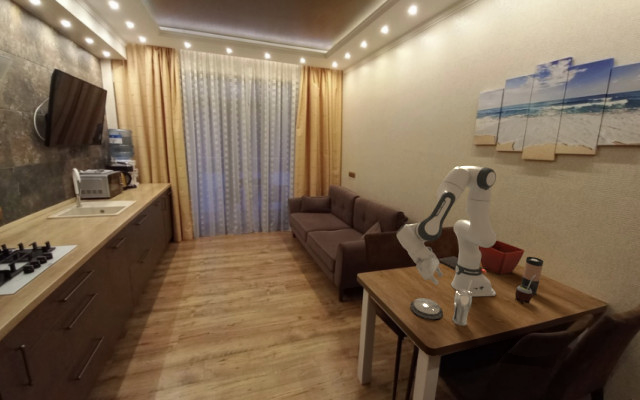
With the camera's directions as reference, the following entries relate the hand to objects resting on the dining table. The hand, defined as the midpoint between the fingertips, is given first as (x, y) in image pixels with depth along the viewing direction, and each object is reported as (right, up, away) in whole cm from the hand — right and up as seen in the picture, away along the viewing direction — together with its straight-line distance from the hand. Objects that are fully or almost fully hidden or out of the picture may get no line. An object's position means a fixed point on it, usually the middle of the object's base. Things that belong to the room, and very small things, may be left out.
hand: (439, 279), depth 127 cm
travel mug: (+63, -15, +28) cm, 71 cm away
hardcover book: (+40, -9, +58) cm, 71 cm away
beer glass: (+8, -19, -2) cm, 21 cm away
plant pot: (+63, -10, +55) cm, 85 cm away
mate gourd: (+53, -17, +18) cm, 58 cm away
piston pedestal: (-4, -17, +5) cm, 18 cm away
